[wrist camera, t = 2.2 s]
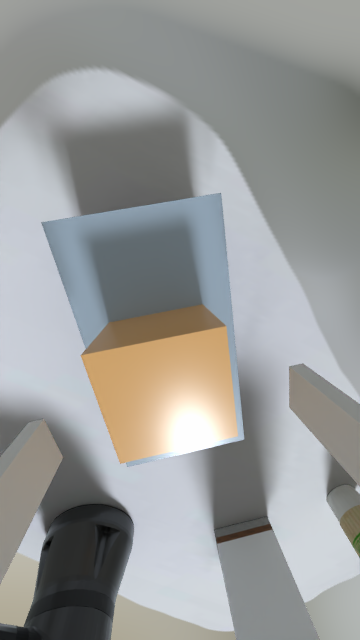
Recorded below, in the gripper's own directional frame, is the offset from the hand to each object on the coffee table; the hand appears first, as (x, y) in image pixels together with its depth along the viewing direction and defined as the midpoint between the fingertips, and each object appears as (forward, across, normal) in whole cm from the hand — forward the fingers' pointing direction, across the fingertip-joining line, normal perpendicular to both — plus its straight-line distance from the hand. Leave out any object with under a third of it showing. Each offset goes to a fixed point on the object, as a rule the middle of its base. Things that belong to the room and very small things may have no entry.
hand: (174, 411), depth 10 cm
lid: (+8, 0, 0) cm, 8 cm away
